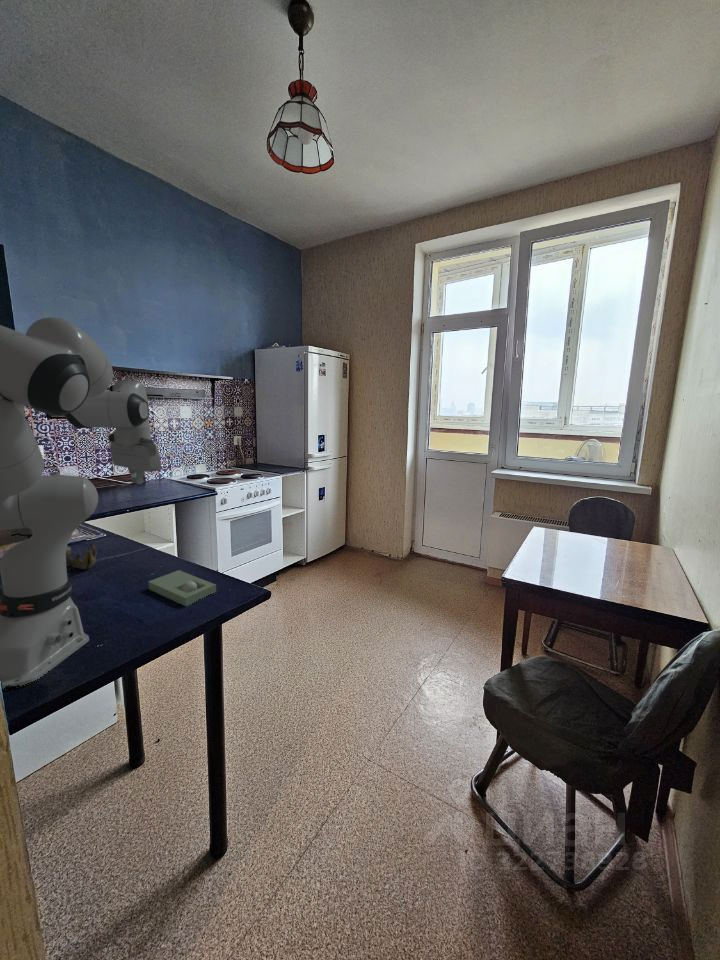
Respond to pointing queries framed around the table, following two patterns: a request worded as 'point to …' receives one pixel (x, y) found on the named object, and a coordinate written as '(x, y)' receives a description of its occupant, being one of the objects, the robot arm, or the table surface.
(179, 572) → the putting board
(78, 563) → the jawbone
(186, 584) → the ball
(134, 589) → the table surface
